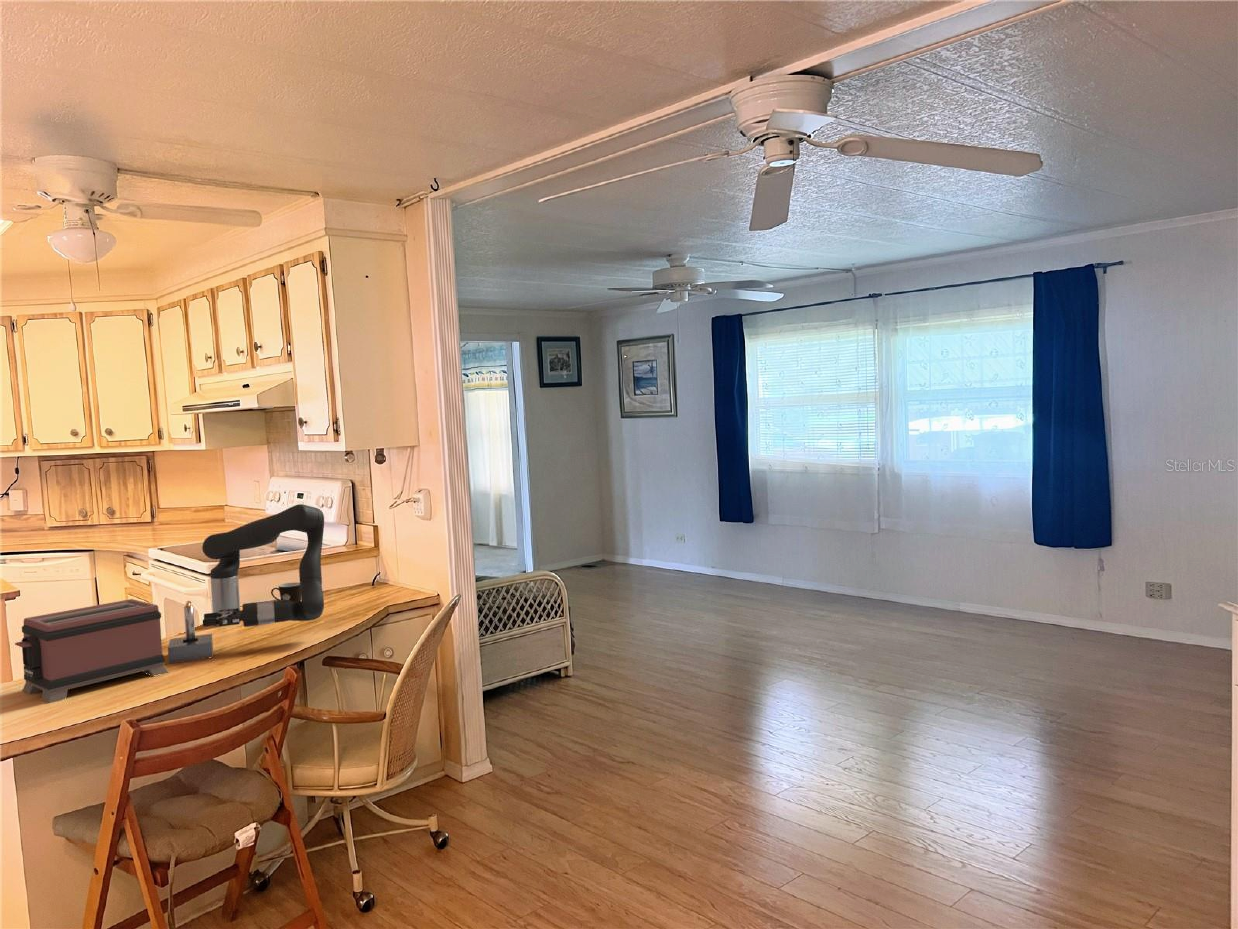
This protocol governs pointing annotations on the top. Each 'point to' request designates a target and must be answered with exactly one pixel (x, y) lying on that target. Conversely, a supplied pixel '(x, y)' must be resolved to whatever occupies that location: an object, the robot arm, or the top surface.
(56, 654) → the toaster
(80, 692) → the top surface
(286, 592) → the coffee mug
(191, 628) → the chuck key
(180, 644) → the block
